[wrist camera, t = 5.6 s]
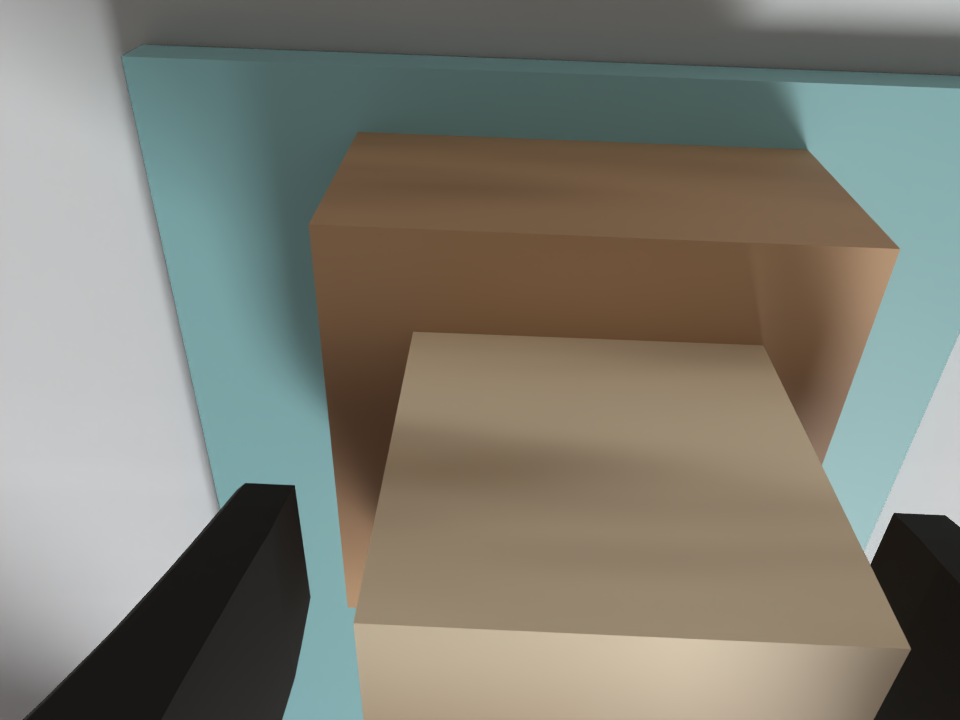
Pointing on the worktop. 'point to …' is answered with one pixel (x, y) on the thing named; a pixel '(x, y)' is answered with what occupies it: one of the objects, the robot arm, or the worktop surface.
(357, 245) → the walnut block
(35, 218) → the worktop surface
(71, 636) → the worktop surface
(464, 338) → the maple block
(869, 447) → the build board
